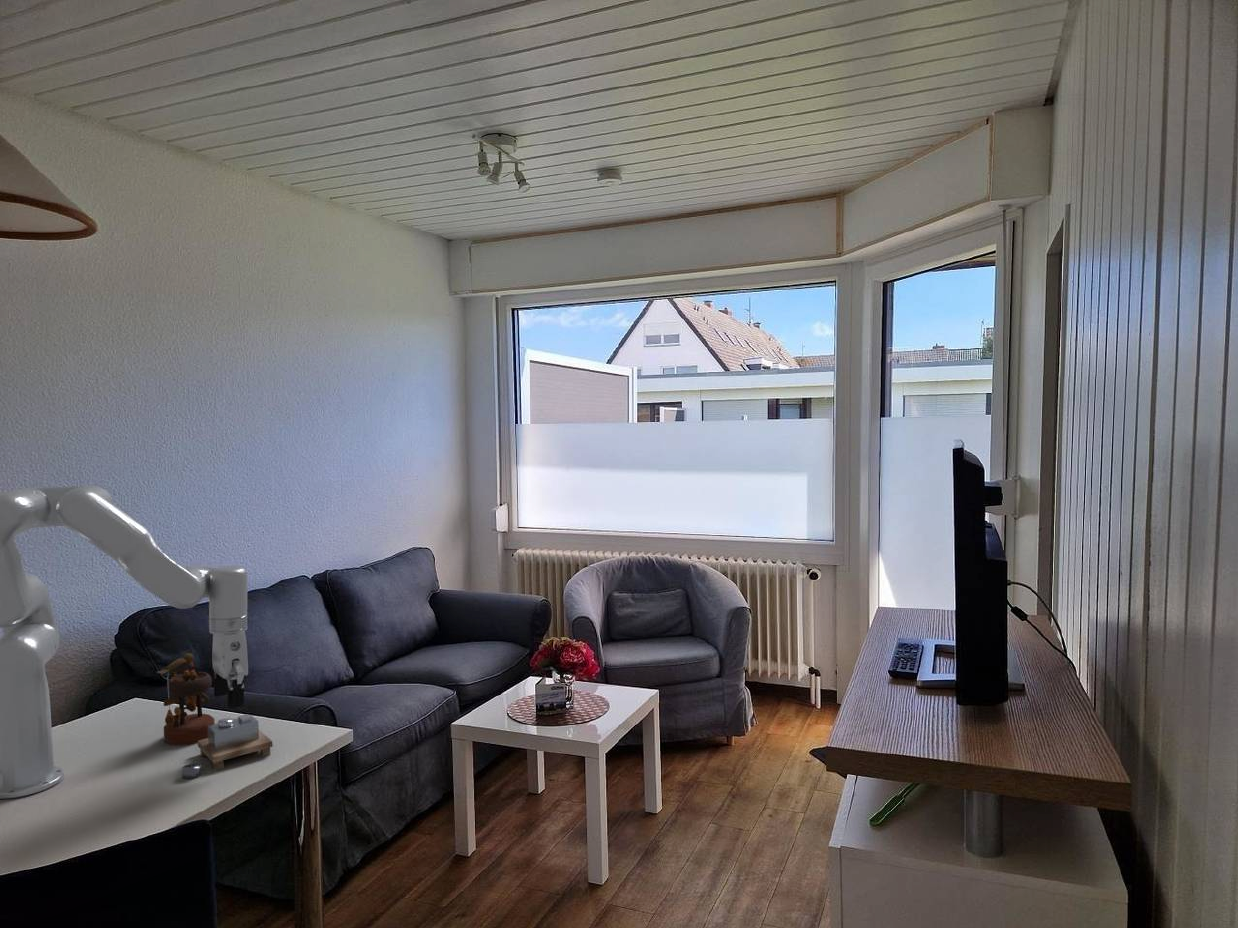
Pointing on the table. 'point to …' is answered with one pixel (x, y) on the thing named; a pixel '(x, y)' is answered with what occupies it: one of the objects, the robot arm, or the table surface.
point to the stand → (235, 750)
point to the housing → (233, 732)
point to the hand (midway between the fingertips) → (228, 700)
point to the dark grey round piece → (191, 771)
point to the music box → (186, 685)
